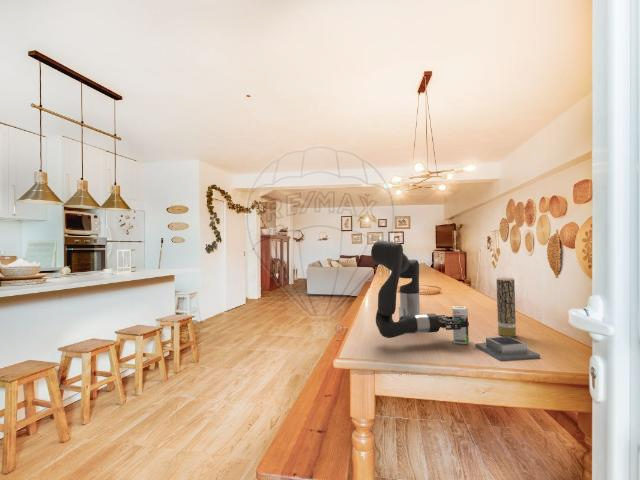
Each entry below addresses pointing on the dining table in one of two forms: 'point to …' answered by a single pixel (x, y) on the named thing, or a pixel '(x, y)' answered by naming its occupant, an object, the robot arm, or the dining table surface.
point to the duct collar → (506, 348)
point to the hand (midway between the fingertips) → (462, 321)
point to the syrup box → (461, 334)
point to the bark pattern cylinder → (506, 306)
